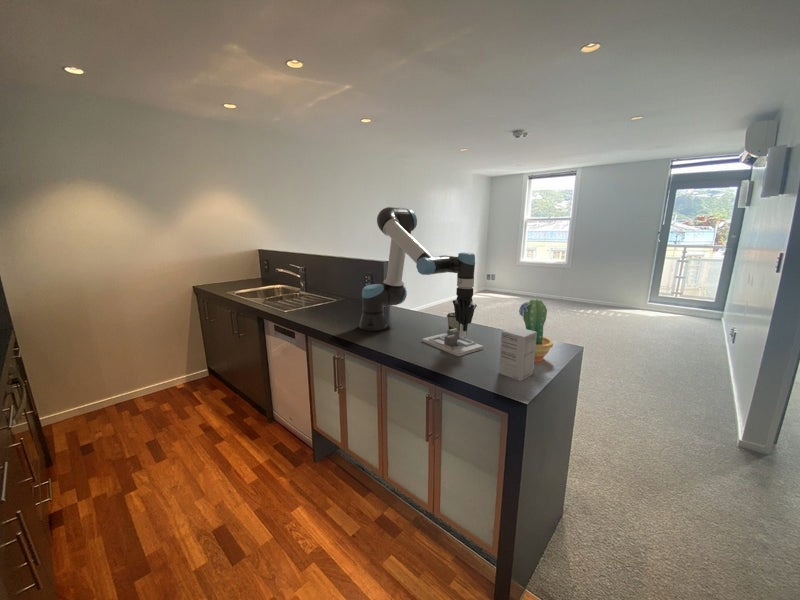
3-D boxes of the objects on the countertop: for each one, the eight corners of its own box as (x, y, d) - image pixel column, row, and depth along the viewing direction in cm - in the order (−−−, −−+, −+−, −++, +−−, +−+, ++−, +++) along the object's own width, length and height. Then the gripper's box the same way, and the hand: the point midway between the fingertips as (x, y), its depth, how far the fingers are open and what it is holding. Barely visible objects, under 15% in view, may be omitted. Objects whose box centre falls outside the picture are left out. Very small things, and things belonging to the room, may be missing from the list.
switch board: (422, 341, 162) (422, 336, 161) (446, 335, 171) (446, 331, 170) (458, 356, 143) (458, 351, 142) (483, 349, 152) (483, 344, 151)
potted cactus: (520, 348, 153) (525, 295, 148) (556, 356, 143) (562, 299, 138) (507, 358, 141) (512, 300, 136) (545, 368, 131) (552, 306, 126)
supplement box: (511, 366, 132) (515, 325, 129) (533, 374, 125) (537, 331, 122) (497, 373, 126) (500, 330, 123) (520, 381, 119) (524, 336, 116)
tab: (444, 344, 152) (444, 335, 151) (450, 343, 154) (451, 333, 153) (450, 347, 149) (450, 337, 148) (456, 345, 151) (457, 335, 150)
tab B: (447, 338, 162) (447, 328, 161) (453, 336, 164) (453, 327, 163) (453, 340, 158) (453, 330, 158) (459, 338, 161) (459, 329, 160)
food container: (471, 332, 178) (472, 313, 176) (468, 335, 172) (469, 316, 170) (449, 329, 183) (449, 311, 181) (445, 332, 177) (446, 313, 175)
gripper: (448, 286, 154) (446, 334, 159) (470, 290, 144) (467, 342, 149) (460, 284, 158) (458, 332, 163) (481, 288, 148) (478, 339, 153)
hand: (462, 337), depth 156 cm, fingers closed
